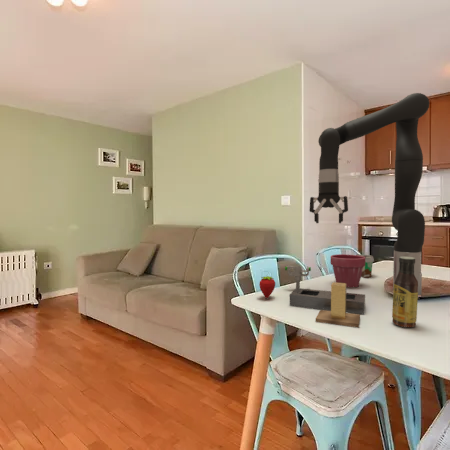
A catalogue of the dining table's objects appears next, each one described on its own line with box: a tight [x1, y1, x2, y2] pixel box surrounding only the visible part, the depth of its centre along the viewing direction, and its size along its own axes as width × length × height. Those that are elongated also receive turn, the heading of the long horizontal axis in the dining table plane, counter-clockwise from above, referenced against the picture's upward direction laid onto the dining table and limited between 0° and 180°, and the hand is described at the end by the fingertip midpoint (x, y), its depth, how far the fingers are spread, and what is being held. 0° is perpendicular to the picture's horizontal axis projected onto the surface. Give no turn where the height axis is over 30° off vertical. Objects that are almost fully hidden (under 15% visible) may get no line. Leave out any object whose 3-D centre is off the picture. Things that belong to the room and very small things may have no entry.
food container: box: [355, 253, 375, 279], centre depth 160 cm, size 12×6×10 cm, turn 179°
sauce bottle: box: [391, 256, 419, 328], centre depth 94 cm, size 7×6×20 cm
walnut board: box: [315, 309, 361, 328], centre depth 100 cm, size 12×9×1 cm
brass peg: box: [330, 281, 347, 319], centre depth 99 cm, size 4×4×10 cm
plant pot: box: [330, 253, 365, 289], centre depth 142 cm, size 14×14×13 cm
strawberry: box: [258, 273, 276, 299], centre depth 123 cm, size 6×8×10 cm
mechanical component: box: [284, 265, 312, 289], centre depth 134 cm, size 3×10×10 cm, turn 78°
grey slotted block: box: [289, 287, 366, 315], centre depth 113 cm, size 24×10×4 cm, turn 65°
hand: (328, 223), depth 128 cm, fingers open, 8 cm apart
